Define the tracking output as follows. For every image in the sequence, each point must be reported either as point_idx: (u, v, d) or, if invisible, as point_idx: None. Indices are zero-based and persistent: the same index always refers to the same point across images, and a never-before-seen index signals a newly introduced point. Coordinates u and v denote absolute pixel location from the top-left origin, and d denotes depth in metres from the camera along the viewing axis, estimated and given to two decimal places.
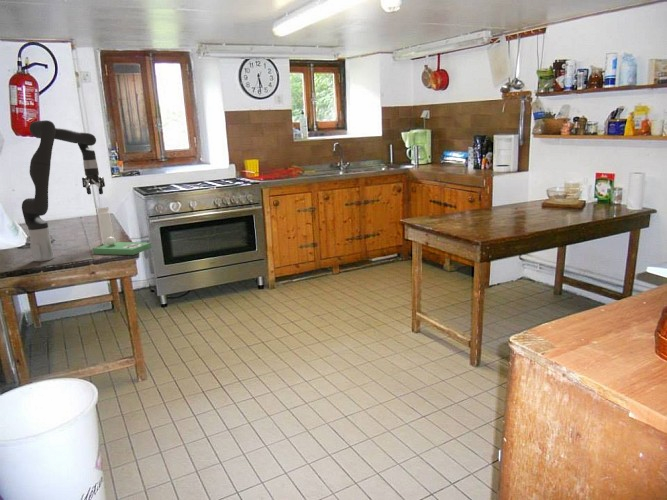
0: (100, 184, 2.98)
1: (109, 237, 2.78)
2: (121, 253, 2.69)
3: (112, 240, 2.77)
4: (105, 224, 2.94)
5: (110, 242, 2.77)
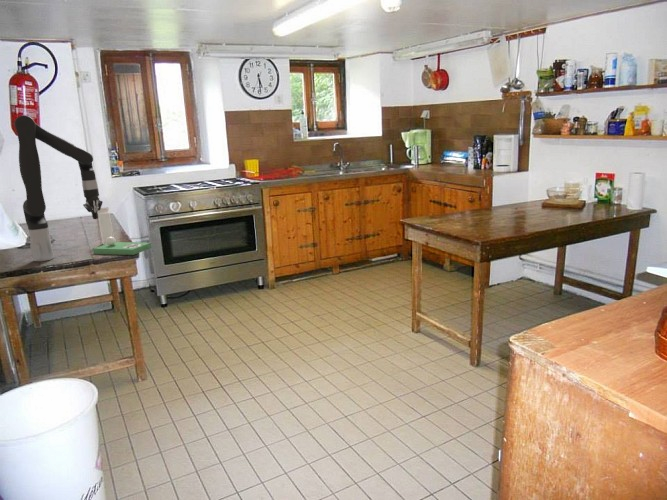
0: (99, 207, 2.79)
1: (109, 237, 2.78)
2: (121, 253, 2.69)
3: (112, 240, 2.77)
4: (105, 224, 2.94)
5: (110, 242, 2.77)
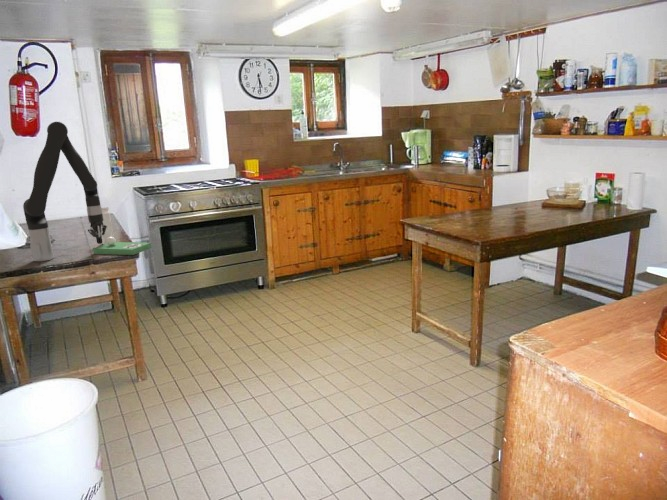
0: (103, 231, 2.83)
1: (109, 237, 2.78)
2: (121, 253, 2.69)
3: (112, 240, 2.77)
4: (105, 224, 2.94)
5: (110, 242, 2.77)
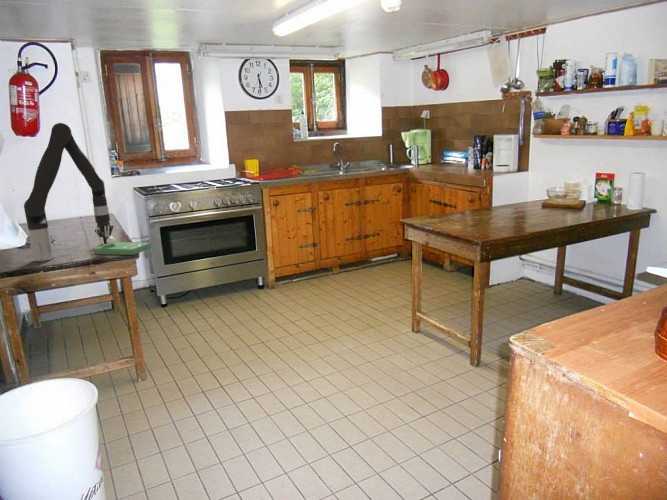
0: (110, 232, 2.81)
1: (109, 237, 2.78)
2: (121, 253, 2.69)
3: (112, 240, 2.77)
4: None
5: (110, 242, 2.77)
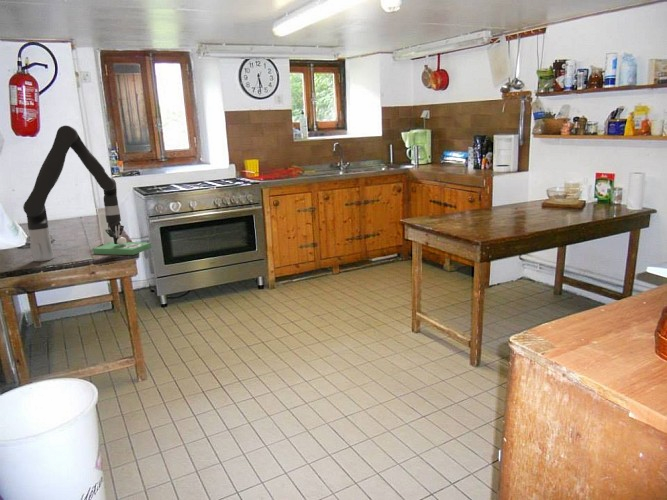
0: (120, 232, 2.79)
1: (123, 243, 2.76)
2: (121, 253, 2.69)
3: (120, 245, 2.77)
4: (105, 224, 2.94)
5: (118, 244, 2.76)
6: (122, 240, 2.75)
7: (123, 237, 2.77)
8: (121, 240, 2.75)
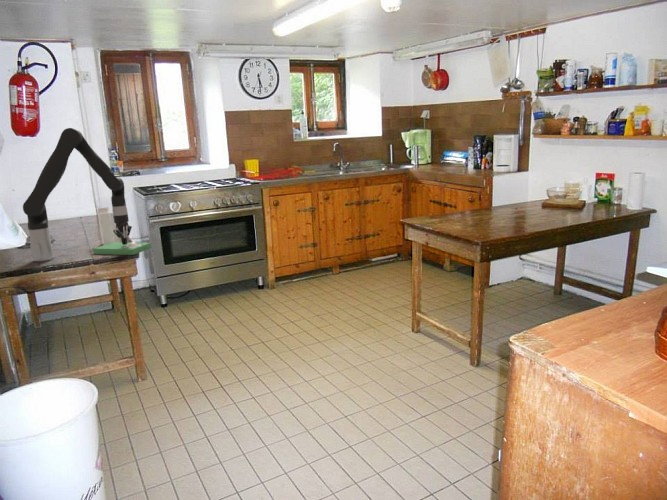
0: (128, 232, 2.78)
1: None
2: (121, 253, 2.69)
3: (131, 243, 2.74)
4: (105, 224, 2.94)
5: (131, 245, 2.73)
6: None
7: None
8: None
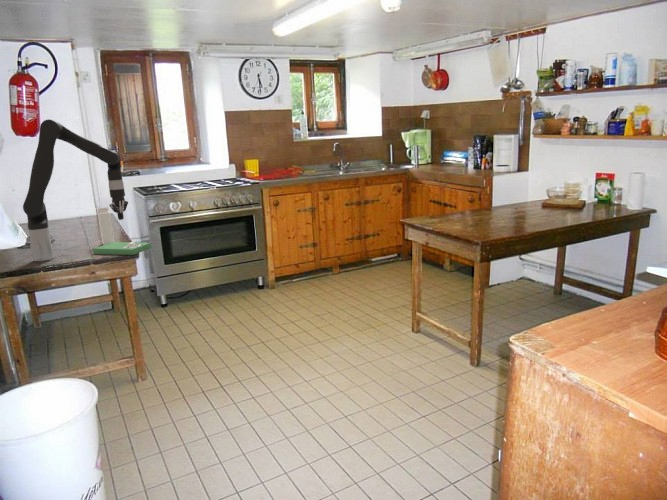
0: (124, 207, 2.74)
1: (127, 246, 2.76)
2: (121, 253, 2.69)
3: (129, 243, 2.75)
4: (105, 224, 2.94)
5: (129, 245, 2.74)
6: None
7: None
8: None
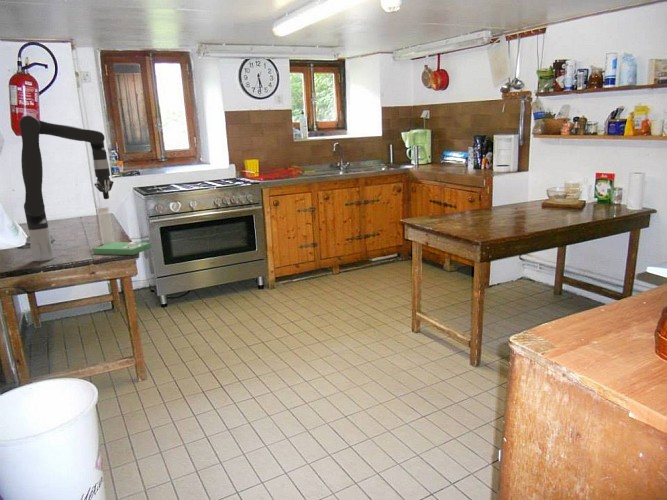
0: (110, 187, 2.79)
1: (127, 246, 2.76)
2: (121, 253, 2.69)
3: (129, 243, 2.75)
4: (105, 224, 2.94)
5: (129, 245, 2.74)
6: None
7: None
8: None
